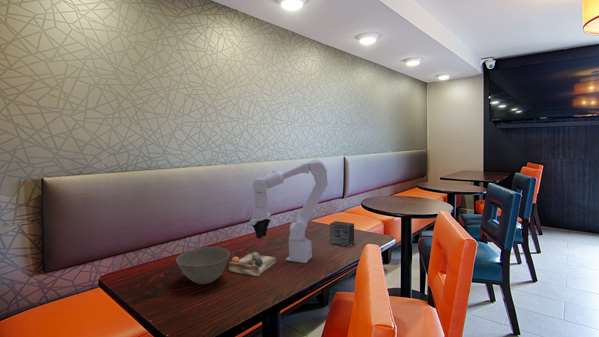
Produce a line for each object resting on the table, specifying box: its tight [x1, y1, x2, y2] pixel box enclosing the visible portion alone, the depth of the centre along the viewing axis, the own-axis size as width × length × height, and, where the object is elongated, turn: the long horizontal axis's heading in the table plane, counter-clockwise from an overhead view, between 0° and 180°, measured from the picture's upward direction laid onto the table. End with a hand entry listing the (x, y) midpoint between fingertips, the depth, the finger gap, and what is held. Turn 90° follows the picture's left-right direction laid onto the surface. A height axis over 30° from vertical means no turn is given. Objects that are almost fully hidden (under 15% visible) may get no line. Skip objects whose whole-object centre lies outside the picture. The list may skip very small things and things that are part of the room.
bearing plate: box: [228, 253, 277, 277], centre depth 129 cm, size 13×15×4 cm
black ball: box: [255, 258, 263, 266], centre depth 125 cm, size 3×3×3 cm
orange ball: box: [231, 256, 240, 263], centre depth 127 cm, size 3×3×3 cm
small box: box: [329, 220, 355, 247], centre depth 156 cm, size 11×6×10 cm, turn 58°
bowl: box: [175, 246, 231, 285], centre depth 116 cm, size 19×19×10 cm
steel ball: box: [251, 251, 260, 260], centre depth 132 cm, size 3×3×3 cm
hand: (261, 237), depth 136 cm, fingers open, 3 cm apart
